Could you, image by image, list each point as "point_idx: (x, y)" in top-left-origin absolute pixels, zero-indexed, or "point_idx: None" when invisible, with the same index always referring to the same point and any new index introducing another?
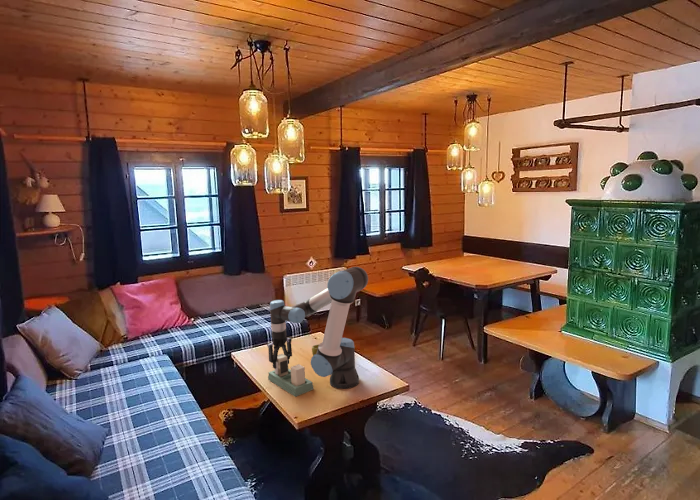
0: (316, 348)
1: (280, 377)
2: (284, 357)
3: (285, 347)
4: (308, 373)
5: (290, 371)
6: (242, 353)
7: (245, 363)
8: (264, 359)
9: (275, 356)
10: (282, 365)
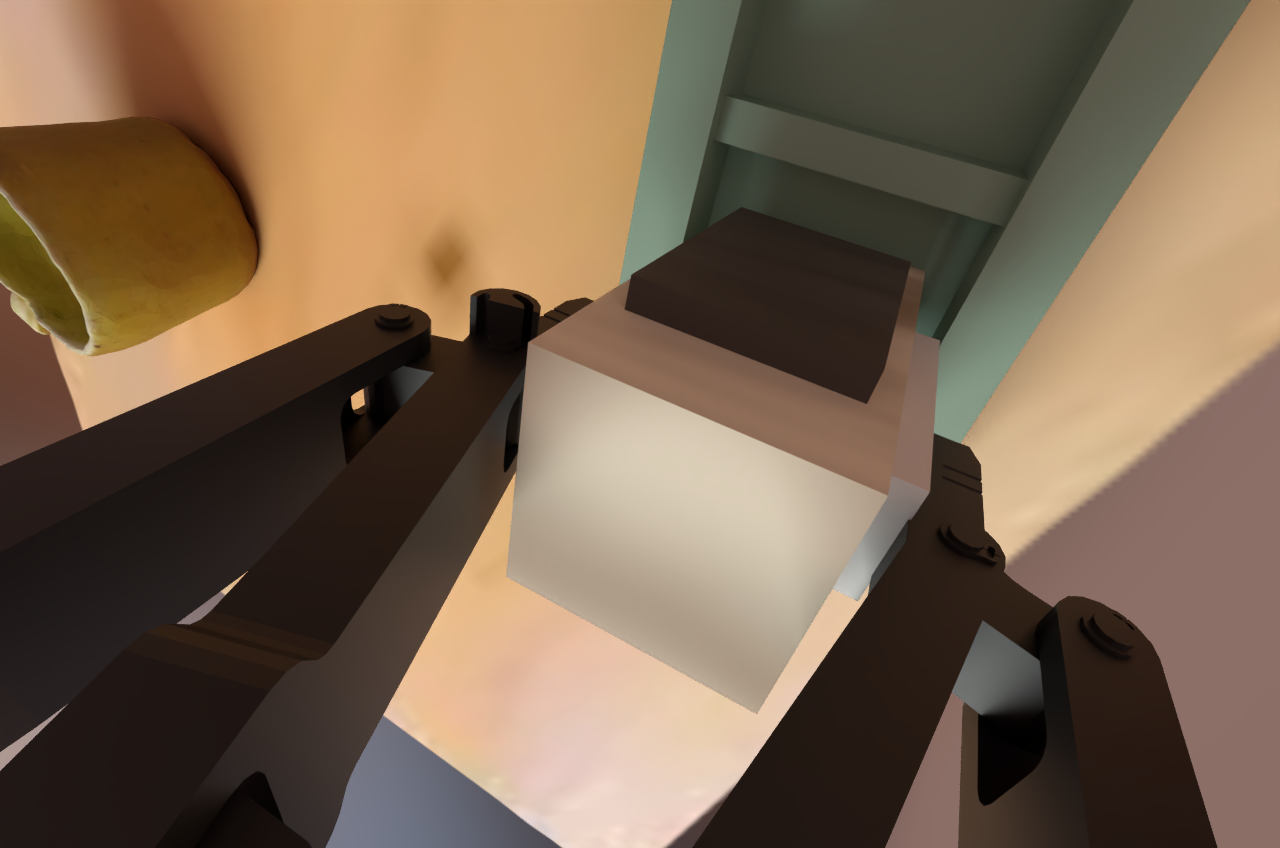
0: (44, 240)
1: (1040, 189)
2: (640, 380)
3: (229, 632)
4: (461, 44)
5: (680, 197)
6: (580, 843)
7: (690, 802)
8: (549, 692)
9: (938, 699)
10: (834, 304)
